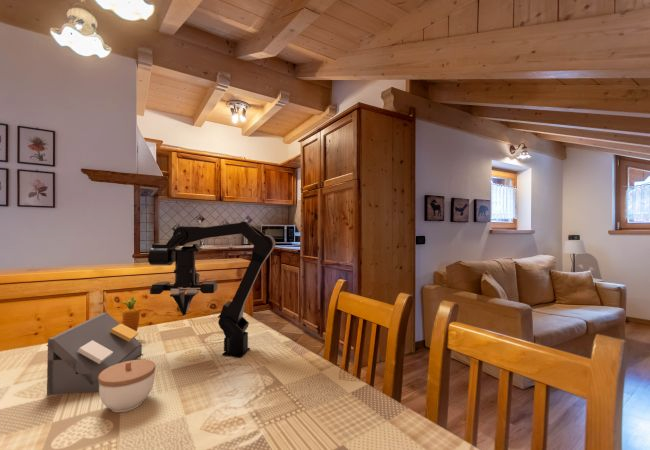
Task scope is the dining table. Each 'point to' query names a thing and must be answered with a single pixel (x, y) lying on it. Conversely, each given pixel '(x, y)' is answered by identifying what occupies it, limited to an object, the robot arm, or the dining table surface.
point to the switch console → (78, 370)
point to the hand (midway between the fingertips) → (184, 314)
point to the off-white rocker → (95, 351)
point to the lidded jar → (126, 384)
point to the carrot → (131, 315)
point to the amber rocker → (124, 332)
